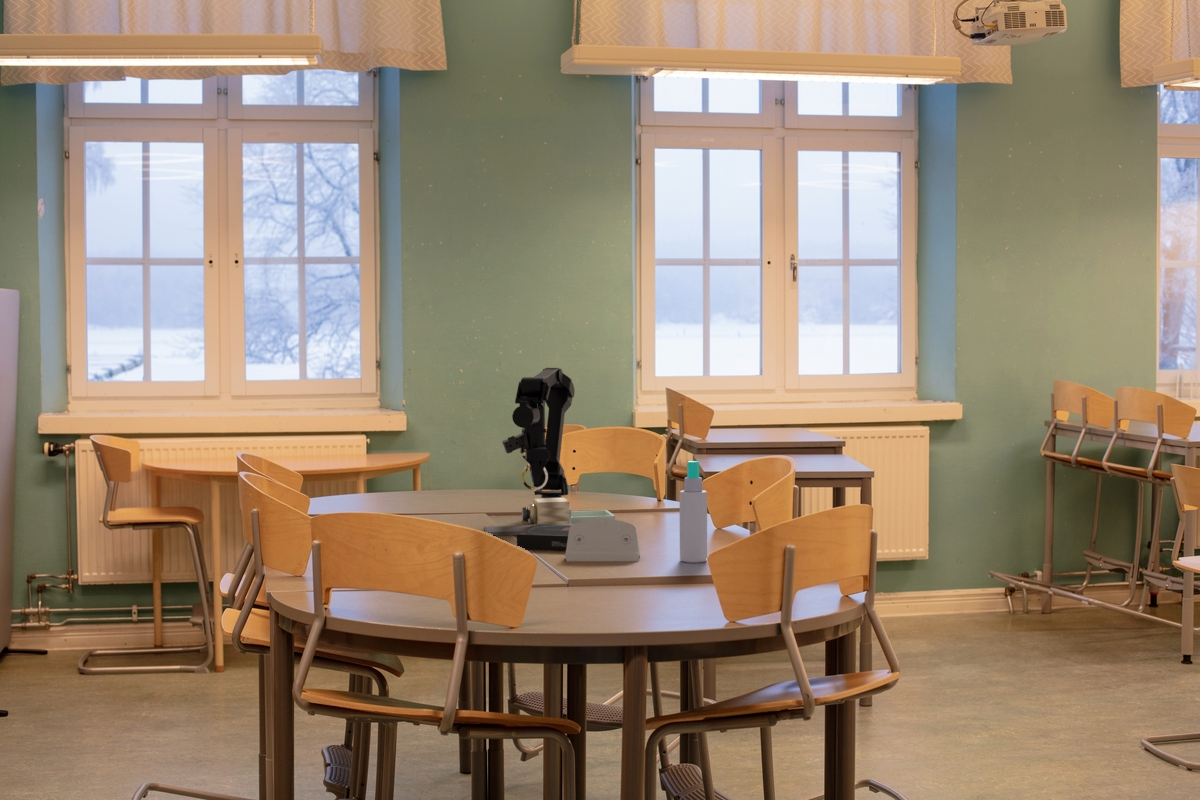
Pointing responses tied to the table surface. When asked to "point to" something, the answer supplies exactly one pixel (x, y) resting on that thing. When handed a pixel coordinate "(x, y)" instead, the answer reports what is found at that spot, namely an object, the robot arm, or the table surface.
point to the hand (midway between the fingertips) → (535, 483)
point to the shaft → (532, 514)
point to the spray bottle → (693, 517)
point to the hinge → (602, 541)
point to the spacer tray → (589, 515)
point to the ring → (534, 487)
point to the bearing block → (539, 516)
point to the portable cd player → (544, 537)
